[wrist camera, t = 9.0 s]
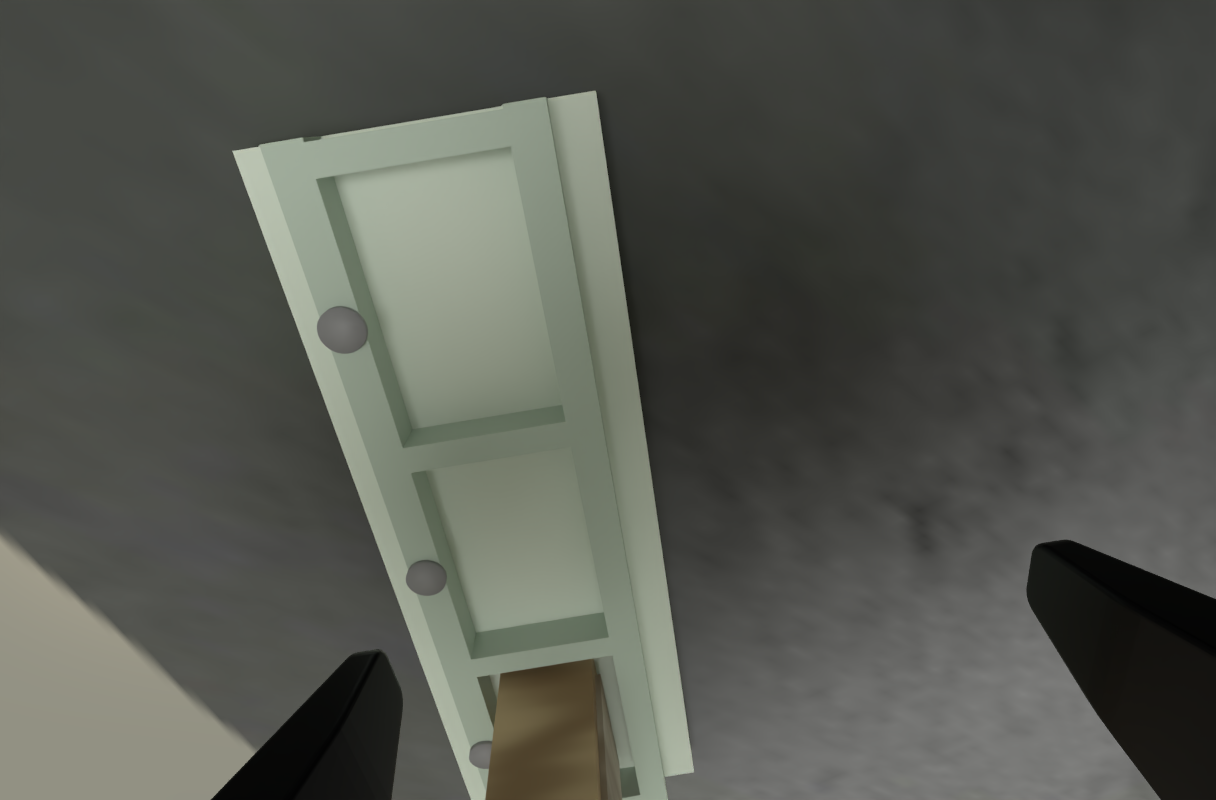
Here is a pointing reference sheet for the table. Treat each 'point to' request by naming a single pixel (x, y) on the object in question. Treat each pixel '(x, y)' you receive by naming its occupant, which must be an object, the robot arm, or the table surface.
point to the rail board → (488, 404)
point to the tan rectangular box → (553, 736)
